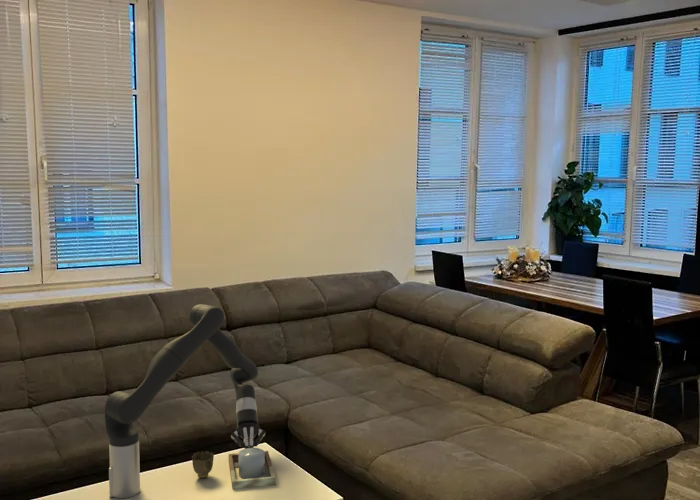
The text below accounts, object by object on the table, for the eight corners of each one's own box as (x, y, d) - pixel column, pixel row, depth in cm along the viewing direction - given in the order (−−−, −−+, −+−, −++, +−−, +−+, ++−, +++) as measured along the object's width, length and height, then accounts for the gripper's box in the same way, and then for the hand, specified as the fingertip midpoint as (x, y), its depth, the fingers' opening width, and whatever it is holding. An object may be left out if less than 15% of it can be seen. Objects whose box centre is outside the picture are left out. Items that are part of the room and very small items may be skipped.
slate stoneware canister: (241, 480, 230) (241, 459, 229) (236, 470, 238) (236, 449, 238) (267, 476, 233) (267, 456, 233) (261, 466, 242) (261, 446, 241)
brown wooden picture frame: (232, 488, 224) (232, 481, 224) (228, 460, 246) (228, 454, 246) (275, 484, 227) (275, 477, 227) (268, 457, 250) (267, 450, 249)
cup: (208, 483, 228) (208, 460, 227) (188, 480, 230) (188, 458, 229) (217, 473, 236) (217, 451, 235) (197, 471, 237) (197, 449, 236)
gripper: (229, 409, 246) (231, 455, 236) (265, 406, 249) (269, 451, 239) (228, 418, 252) (230, 463, 242) (263, 415, 255) (267, 459, 245)
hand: (249, 457), depth 240 cm, fingers closed
